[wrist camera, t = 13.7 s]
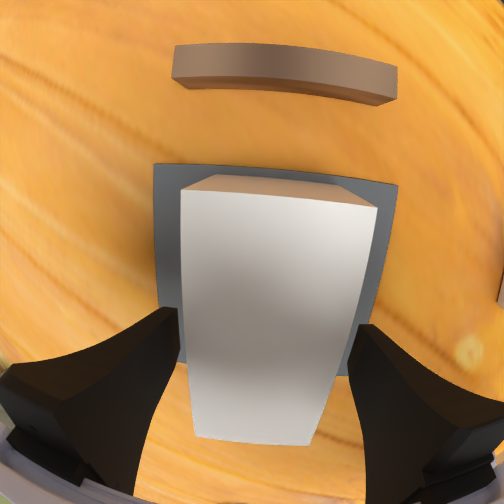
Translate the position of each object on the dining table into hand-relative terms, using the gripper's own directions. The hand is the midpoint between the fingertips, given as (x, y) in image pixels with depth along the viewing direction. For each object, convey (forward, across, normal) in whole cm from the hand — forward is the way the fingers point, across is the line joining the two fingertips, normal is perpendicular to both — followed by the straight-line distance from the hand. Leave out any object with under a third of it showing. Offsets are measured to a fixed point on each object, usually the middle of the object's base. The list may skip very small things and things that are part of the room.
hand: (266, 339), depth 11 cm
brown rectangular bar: (+4, 0, -11) cm, 11 cm away
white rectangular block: (+4, 0, 0) cm, 4 cm away
